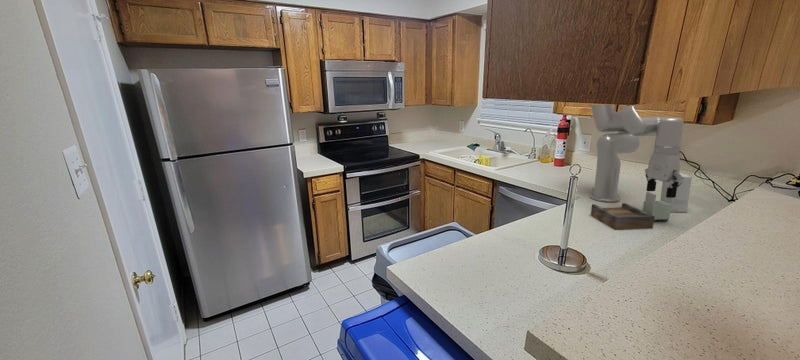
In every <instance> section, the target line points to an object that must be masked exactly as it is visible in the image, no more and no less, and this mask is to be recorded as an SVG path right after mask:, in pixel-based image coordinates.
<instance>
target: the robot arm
mask: <svg viewBox="0 0 800 360" xmlns="http://www.w3.org/2000/svg"><path fill="white" fill-rule="evenodd" d="M590 107H591V112H592V116H593V120H594V124H595V127H596V129H597V131H598V132H599V133H606V134H603V135H601V136H599V137H598V139H597V141H596V151H597V160H596V169H595V170H596V171H595V179H594V186H593V187H591V190H592V191H593V192H592V193H590V194H589V198H590V199H592V200H594V201H597V202H603V203H604V202H605V203H616V202H619V201H621V197H620V196H619V195H618V187H619V182H620V173H621V160H620V158H619V156H618V155H620V154H631V153H634V152H636V151H638V150H639V147H640V137H655V140H654V146H653V147H654V148H653V153H651V156H650V158H649V162H648V165H647V168H645V169H644V173H645V178H646V181H647V183H646V192H655V191H656V188H657V181H660V182H662V183H663V182H666V181H667V183H668V186H669V187H667V193H666V197H667V198H675V197H676V192H677V188H678V187H679V186H680V185H681V184H682V182H683V180H684V177H683V176H682V175H680V174H679V173H680V168H681V165H680V164H681V159H680V150H681V143H682V137H683V129H684V122H685V121H684V119H683V118H681V117H668V116H640V115H639V114H638V113H637V111H636V109H637V108H638V107H640V106H624V105H623V106H622V108H621V111H616V110H615V109H614V107H613V104H612V105H590ZM671 182H673V184H672V183H671Z"/></svg>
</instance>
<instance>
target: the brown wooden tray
mask: <svg viewBox="0 0 800 360" xmlns="http://www.w3.org/2000/svg"><path fill="white" fill-rule="evenodd" d="M590 216H592V217H593V218H595V219H597V220H598V221H600V222H601V223H603V224H604V225H607V226H608V227H610V228H612V229H614V230H615V231H619V230H620V231H621V230H622V231H623V230H642V229H643V230H644V229H647V230H648V229H649V230H650V229H653V228H654V223H655V222H654V217H655V216H653V215H650V214H648V213H646V212H644V211H643V209H642V210H641V209H639V208H637V207H635V206H632V205H631V204H628V203H625V202H623V203H621V206H620V207H619V206H618V207H617V206H616V207H601V206H599V205H598V204H595V203H593V204H591V211H590Z"/></svg>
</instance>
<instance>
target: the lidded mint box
mask: <svg viewBox="0 0 800 360" xmlns="http://www.w3.org/2000/svg"><path fill="white" fill-rule="evenodd" d="M656 199H657V194H655V193H652V192H650V191H646V192H645V198H644V201H643V206H642V211H644V212H646V213H648V214H650V215H653V216H655V217H654V223H655V222H657V220H660V221H662V222H664V223H666V222H668V221H669V219H670V217H671V215H670V214H671V212H670V211H671V204H669V203H666V202H664V201H660V200H656Z"/></svg>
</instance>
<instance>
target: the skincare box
mask: <svg viewBox="0 0 800 360" xmlns="http://www.w3.org/2000/svg"><path fill="white" fill-rule="evenodd" d="M679 174H680V175H682V176H683V177H684V180H683V182H682V184H681V185H680V186H679V187H678V188H677V192H676V197H675V198H667V197H666V193H667V187H669V186H668V183H667V181H666V182H663V181H662V182H661V183H662V185H661V191H660V198H659V199H660V200H659V201H664V202H666V203H669V204H671V211H670V213H687V212H688V206H689V201H690V200H689V199H690V193H691V187H692V186H691V184H692V178H693V177H692V176H690V175H688V174H684V173H681V172H679ZM671 183H672V184H673V182H671Z"/></svg>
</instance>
